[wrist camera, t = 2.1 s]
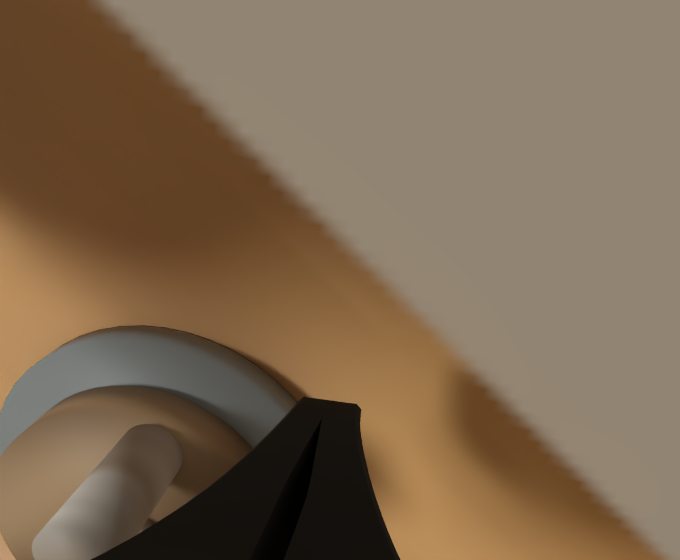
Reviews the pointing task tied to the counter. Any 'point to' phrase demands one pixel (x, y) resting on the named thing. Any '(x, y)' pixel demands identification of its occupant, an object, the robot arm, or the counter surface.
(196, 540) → the robot arm
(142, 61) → the counter surface
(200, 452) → the capstan disc
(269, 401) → the disc
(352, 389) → the counter surface
